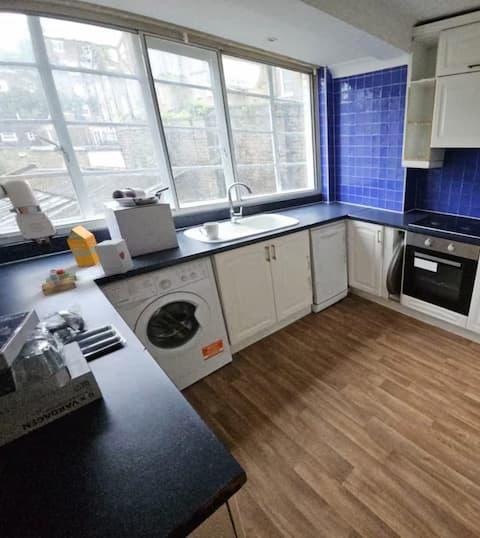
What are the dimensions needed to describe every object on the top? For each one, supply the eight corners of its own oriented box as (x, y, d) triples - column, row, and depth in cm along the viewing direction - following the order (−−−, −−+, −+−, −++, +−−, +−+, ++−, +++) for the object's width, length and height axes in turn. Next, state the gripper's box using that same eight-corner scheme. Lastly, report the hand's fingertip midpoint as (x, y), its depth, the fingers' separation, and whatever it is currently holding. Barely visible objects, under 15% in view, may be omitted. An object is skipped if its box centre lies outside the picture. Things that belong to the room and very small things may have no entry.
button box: (48, 287, 131) (44, 279, 130) (47, 282, 136) (44, 274, 134) (77, 280, 138) (74, 272, 136) (76, 275, 142) (73, 268, 141)
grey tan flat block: (60, 284, 126) (55, 273, 124) (55, 285, 125) (49, 274, 123) (60, 279, 131) (54, 269, 129) (55, 281, 130) (49, 270, 128)
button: (54, 276, 133) (52, 273, 132) (54, 274, 135) (52, 271, 135) (64, 274, 135) (63, 270, 135) (64, 272, 137) (62, 268, 137)
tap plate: (43, 297, 122) (39, 290, 121) (43, 289, 129) (39, 283, 128) (78, 288, 129) (75, 281, 128) (76, 281, 136) (73, 274, 135)
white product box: (124, 273, 143) (113, 244, 137) (104, 275, 142) (92, 245, 136) (134, 266, 151) (124, 238, 145) (115, 268, 150) (104, 240, 144)
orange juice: (103, 259, 163) (89, 224, 155) (96, 265, 155) (80, 228, 147) (86, 261, 161) (71, 225, 153) (78, 267, 153) (61, 230, 145)
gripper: (1, 214, 116) (24, 257, 123) (53, 208, 126) (71, 248, 133) (3, 212, 121) (24, 253, 128) (52, 206, 131) (70, 245, 138)
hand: (48, 251), depth 131 cm, fingers closed
